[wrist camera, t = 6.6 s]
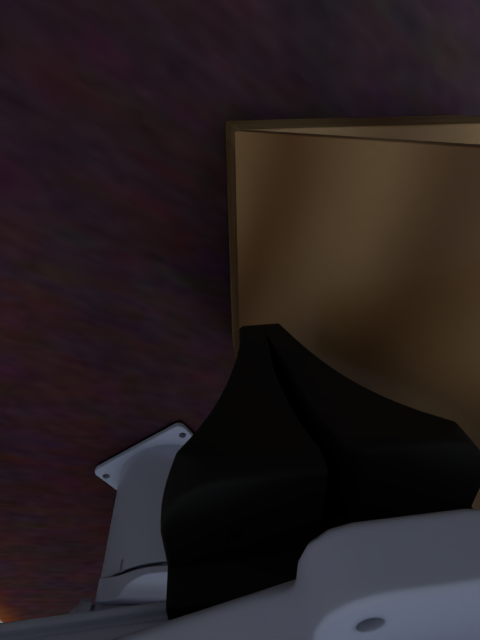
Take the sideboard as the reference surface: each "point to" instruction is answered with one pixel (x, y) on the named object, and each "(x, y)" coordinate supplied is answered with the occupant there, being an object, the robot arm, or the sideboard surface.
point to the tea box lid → (368, 260)
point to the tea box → (373, 127)
